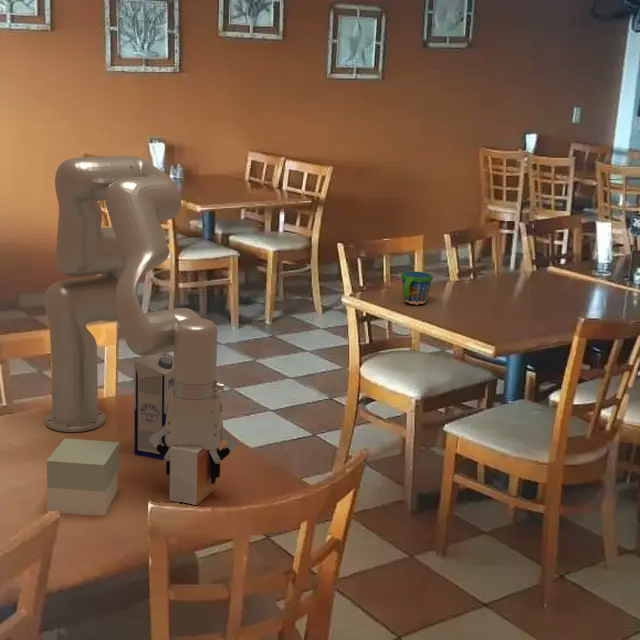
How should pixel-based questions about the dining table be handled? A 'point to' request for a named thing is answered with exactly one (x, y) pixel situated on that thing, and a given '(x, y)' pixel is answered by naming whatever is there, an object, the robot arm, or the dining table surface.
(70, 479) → the tower top
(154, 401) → the milk carton
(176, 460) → the small box
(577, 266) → the dining table surface
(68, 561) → the dining table surface
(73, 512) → the tower bottom
